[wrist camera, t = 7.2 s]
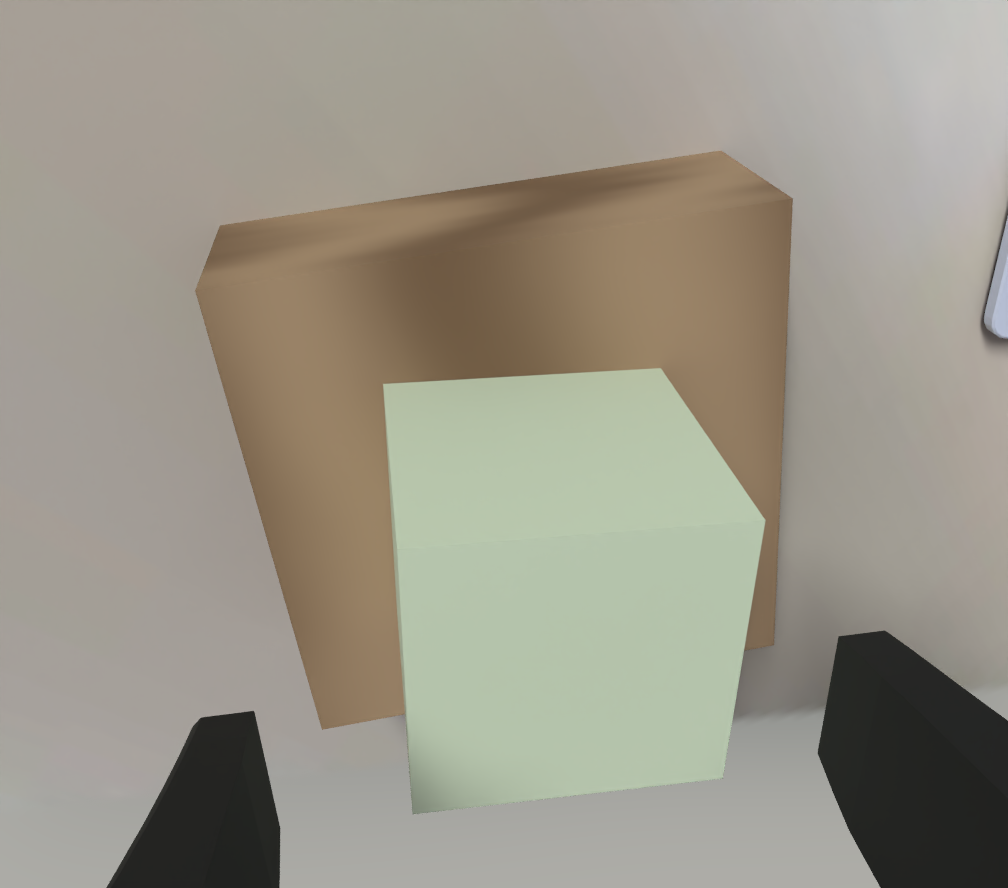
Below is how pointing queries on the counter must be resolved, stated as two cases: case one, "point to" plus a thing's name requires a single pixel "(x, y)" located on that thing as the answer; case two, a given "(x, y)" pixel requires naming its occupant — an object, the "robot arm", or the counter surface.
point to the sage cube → (564, 586)
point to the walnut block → (483, 358)
